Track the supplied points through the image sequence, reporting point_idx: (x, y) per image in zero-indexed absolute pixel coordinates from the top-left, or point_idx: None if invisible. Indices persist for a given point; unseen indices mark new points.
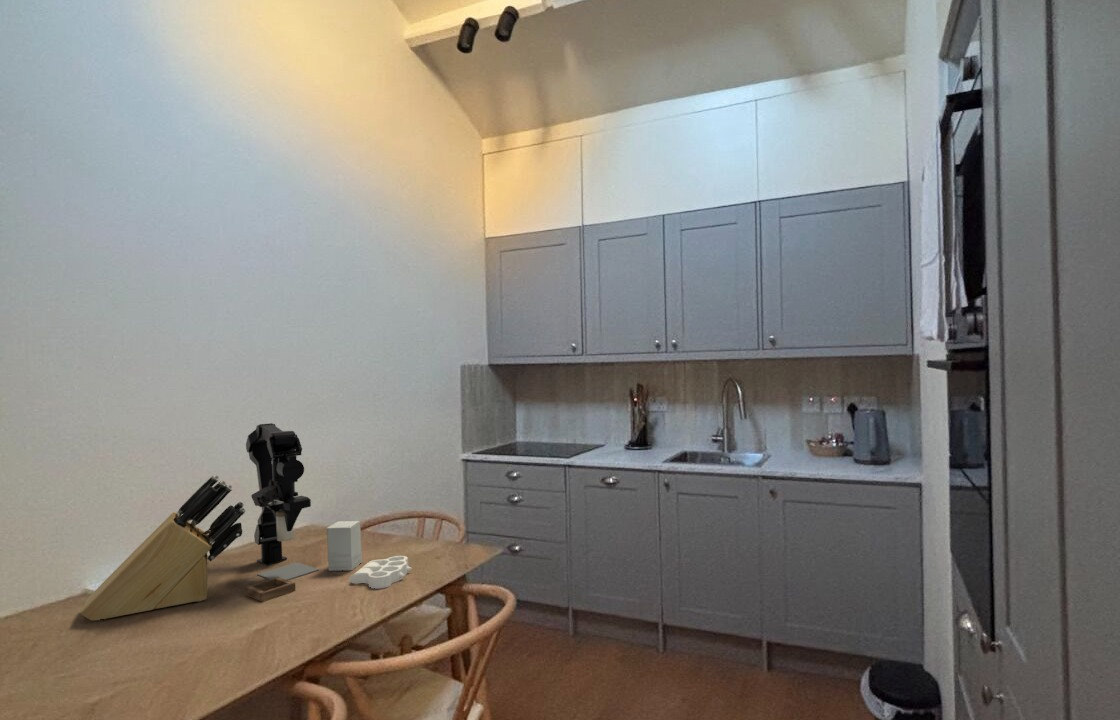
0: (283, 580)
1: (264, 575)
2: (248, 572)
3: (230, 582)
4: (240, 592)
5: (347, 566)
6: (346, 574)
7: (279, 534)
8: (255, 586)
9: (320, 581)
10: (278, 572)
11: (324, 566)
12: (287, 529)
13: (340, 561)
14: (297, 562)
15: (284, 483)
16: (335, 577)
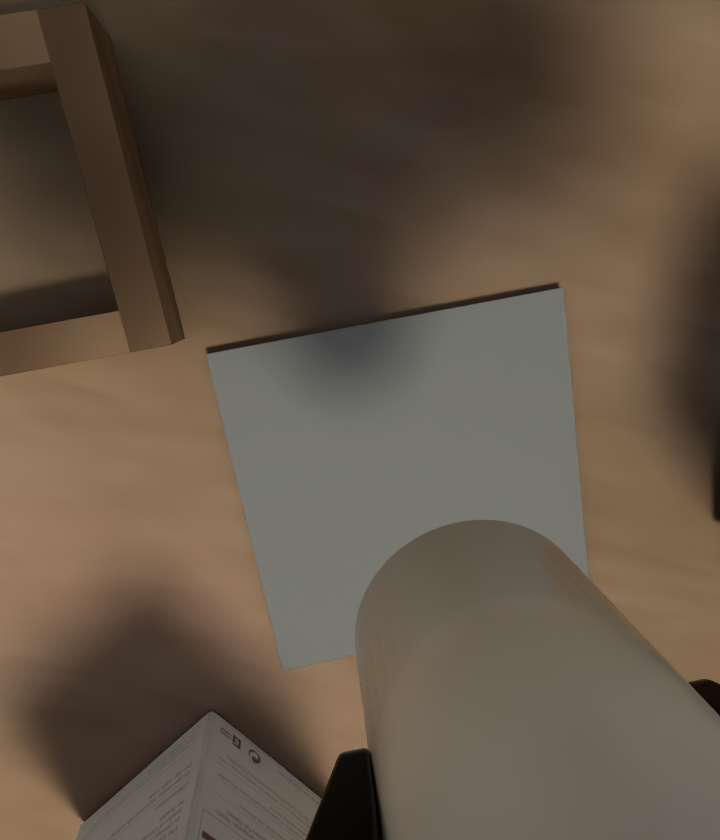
0: (18, 348)
1: (474, 318)
2: (690, 256)
3: (560, 51)
4: (211, 23)
5: (91, 831)
6: (28, 774)
7: (443, 593)
8: (62, 101)
9: (2, 597)
10: (458, 426)
11: (343, 716)
12: (340, 778)
13: (116, 834)
14: None
15: None
16: (17, 701)
